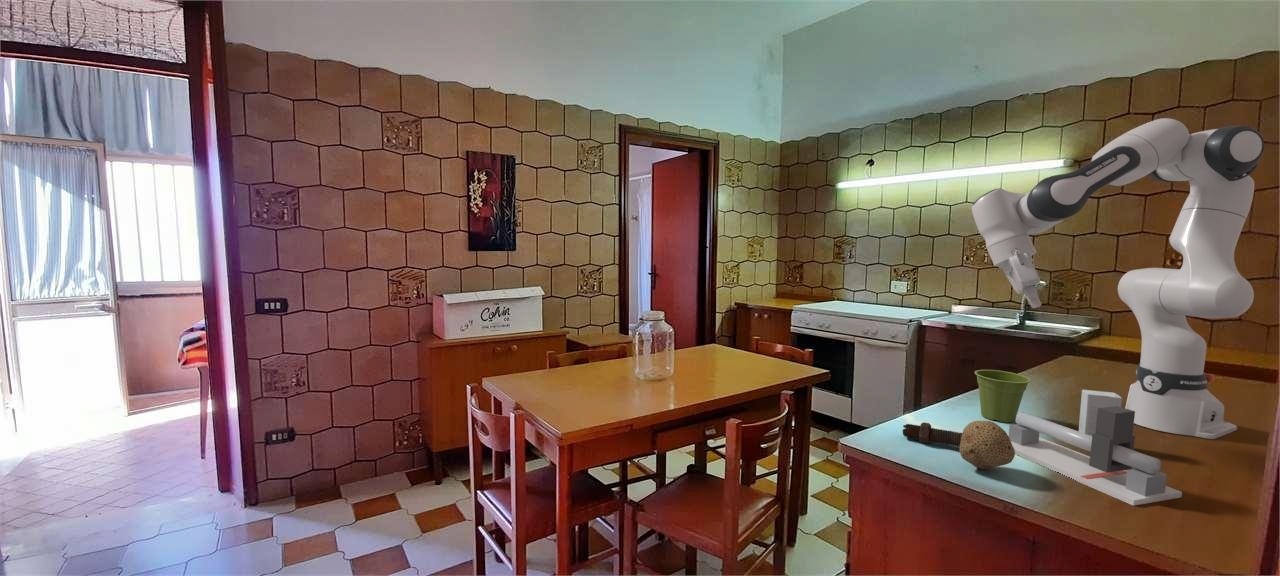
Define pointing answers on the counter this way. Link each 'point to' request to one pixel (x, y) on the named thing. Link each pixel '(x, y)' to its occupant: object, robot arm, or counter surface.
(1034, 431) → the pipe stand
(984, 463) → the natural sponge
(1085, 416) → the skincare box
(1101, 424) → the collar
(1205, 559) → the counter surface
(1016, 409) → the plant pot
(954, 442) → the bolt
